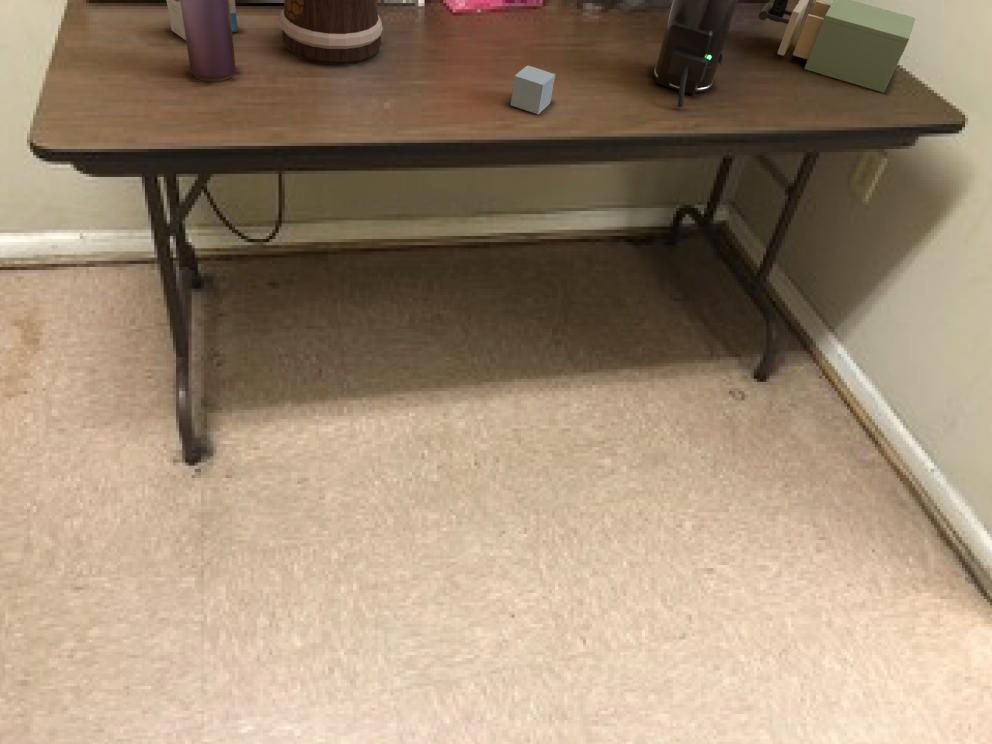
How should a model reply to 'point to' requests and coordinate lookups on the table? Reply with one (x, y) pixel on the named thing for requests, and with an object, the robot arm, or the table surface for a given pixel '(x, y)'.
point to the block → (532, 89)
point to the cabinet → (860, 44)
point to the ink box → (177, 17)
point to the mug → (331, 29)
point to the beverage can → (209, 39)
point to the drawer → (808, 30)
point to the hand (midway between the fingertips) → (774, 19)
